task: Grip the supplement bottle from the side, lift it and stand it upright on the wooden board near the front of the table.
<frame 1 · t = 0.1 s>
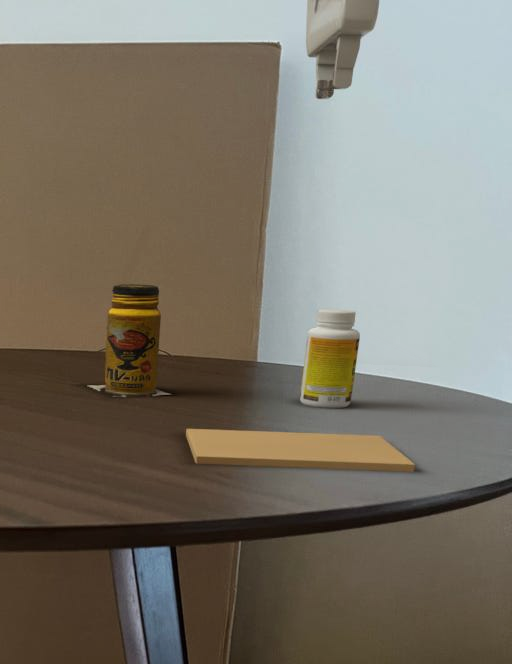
hand: (332, 93, 112), 32 cm above the table, tool pointing down, fingers open, 8 cm apart
supplement bottle: (324, 407, 116), on the table
wooden board: (292, 454, 91), on the table
condiment: (127, 393, 121), on the table
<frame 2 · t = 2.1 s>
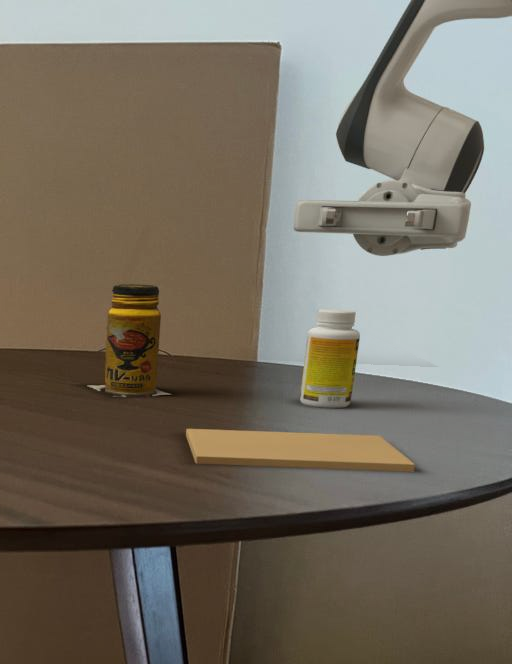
hand: (369, 217, 118), 20 cm above the table, tool horizontal, fingers open, 8 cm apart
nothing on the table moved.
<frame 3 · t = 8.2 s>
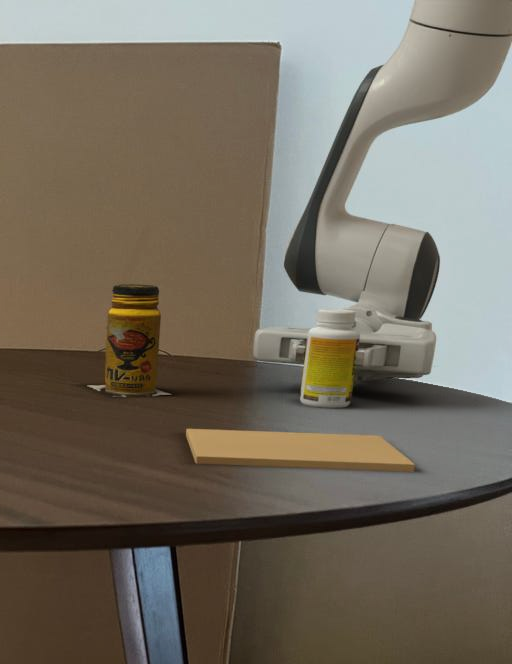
hand: (329, 355, 113), 6 cm above the table, tool horizontal, fingers closed on supplement bottle, 5 cm apart
supplement bottle: (324, 407, 116), on the table, touching gripper
everything else where it was.
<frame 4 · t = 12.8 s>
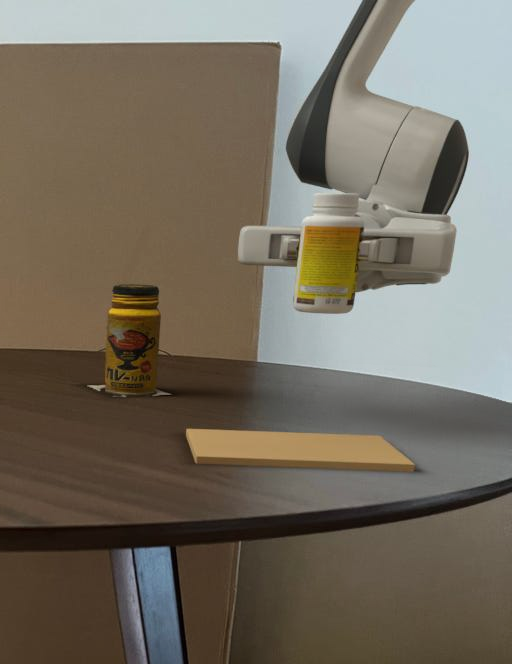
hand: (328, 249, 94), 17 cm above the table, tool horizontal, fingers closed on supplement bottle, 5 cm apart
supplement bottle: (321, 314, 97), point 11 cm above the table, touching gripper
everything else where it was.
when the fingers open (6 cm above the table, at t = 17.6 s): supplement bottle stays where it is, resting on wooden board.
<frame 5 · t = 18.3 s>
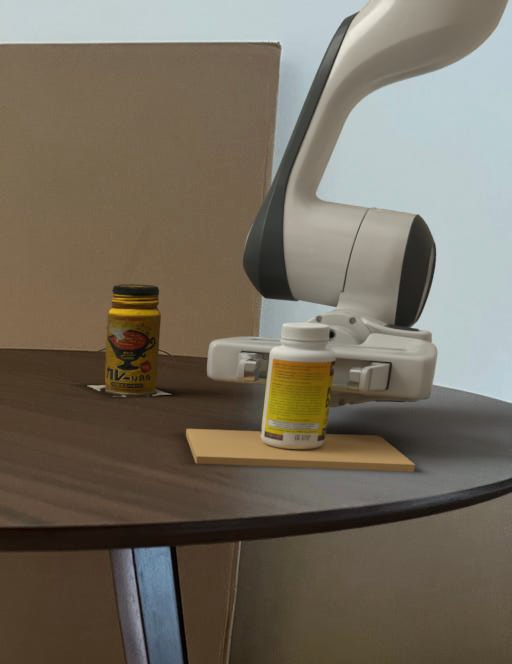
hand: (300, 375, 88), 7 cm above the table, tool horizontal, fingers open, 8 cm apart
supplement bottle: (291, 446, 91), point 1 cm above the table, touching wooden board
everything else where it was.
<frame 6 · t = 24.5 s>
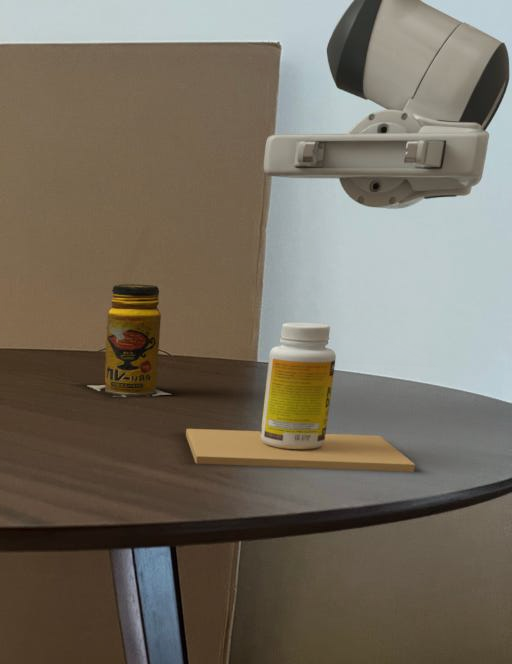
hand: (358, 151, 92), 25 cm above the table, tool horizontal, fingers open, 8 cm apart
nothing on the table moved.
at the end: supplement bottle inside the target area on the wooden board (0.1 cm from its centre), point 0.6 cm above the wooden board's base; supplement bottle tilted 0°; the gripper is holding nothing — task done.
